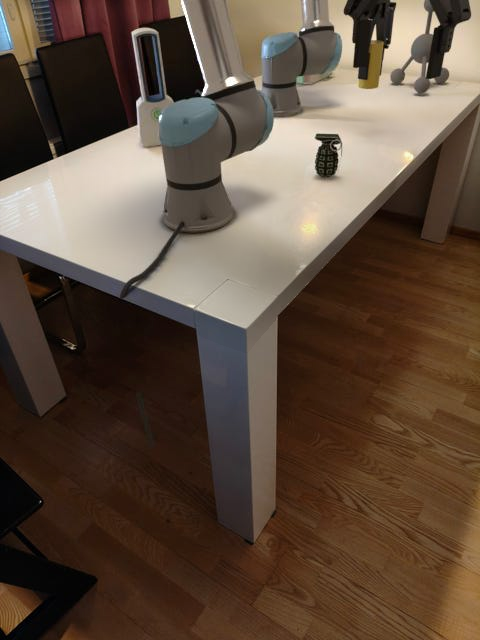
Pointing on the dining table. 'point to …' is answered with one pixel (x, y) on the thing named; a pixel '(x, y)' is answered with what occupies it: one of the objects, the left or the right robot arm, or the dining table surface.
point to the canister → (373, 65)
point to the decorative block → (311, 78)
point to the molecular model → (421, 57)
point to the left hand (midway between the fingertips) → (394, 71)
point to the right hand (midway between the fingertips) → (369, 76)
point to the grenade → (327, 155)
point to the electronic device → (146, 104)
